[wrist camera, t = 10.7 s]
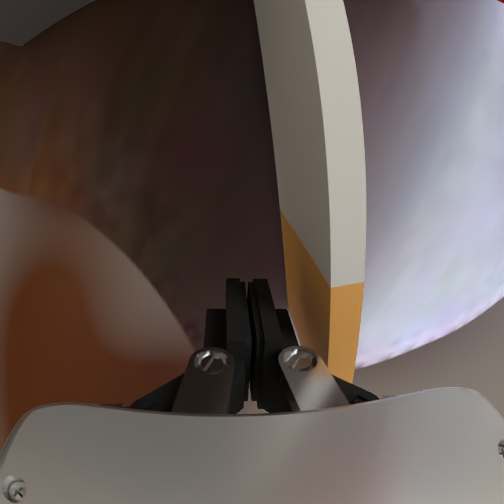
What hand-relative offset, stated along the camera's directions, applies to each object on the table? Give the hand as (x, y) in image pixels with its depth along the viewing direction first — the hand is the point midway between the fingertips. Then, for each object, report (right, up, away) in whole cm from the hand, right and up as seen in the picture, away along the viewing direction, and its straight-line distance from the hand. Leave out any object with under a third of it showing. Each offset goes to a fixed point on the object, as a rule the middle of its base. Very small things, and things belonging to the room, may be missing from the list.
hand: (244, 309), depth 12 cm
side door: (+2, +9, +2) cm, 9 cm away
